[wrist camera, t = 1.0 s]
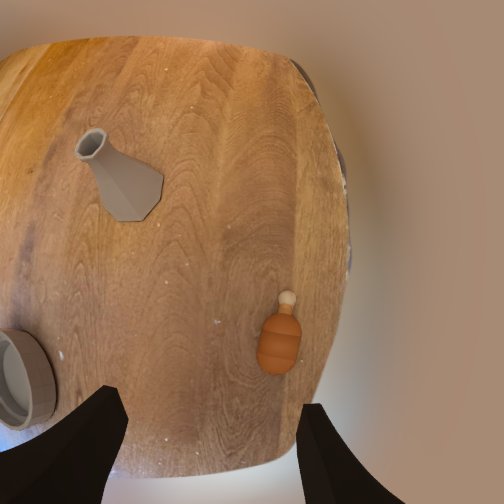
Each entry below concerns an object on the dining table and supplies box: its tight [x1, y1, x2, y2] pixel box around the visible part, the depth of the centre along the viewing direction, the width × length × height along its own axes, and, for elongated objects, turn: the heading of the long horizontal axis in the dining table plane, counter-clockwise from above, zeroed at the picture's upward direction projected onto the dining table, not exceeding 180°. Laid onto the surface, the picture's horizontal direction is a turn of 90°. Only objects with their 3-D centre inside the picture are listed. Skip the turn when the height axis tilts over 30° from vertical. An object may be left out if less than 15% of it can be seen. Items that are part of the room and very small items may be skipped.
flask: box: [74, 128, 163, 222], centre depth 24 cm, size 7×7×10 cm
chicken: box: [257, 290, 302, 375], centre depth 23 cm, size 8×3×3 cm, turn 169°
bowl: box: [0, 328, 56, 431], centre depth 21 cm, size 12×12×5 cm
